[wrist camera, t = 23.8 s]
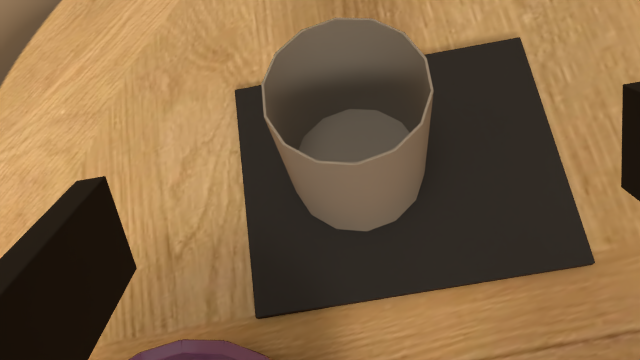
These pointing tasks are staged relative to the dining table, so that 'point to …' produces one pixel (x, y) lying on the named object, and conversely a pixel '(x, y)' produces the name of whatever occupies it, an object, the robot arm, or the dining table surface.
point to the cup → (351, 119)
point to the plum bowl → (199, 351)
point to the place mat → (424, 198)
